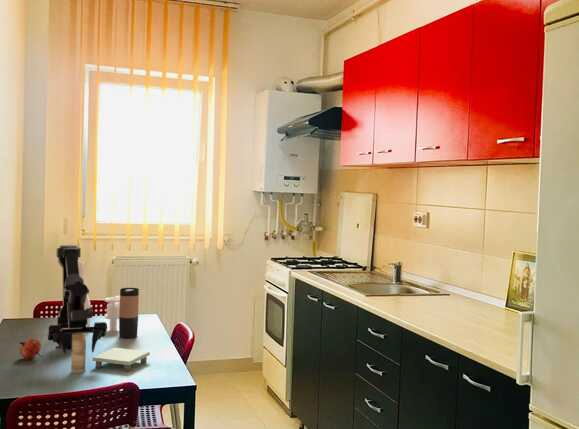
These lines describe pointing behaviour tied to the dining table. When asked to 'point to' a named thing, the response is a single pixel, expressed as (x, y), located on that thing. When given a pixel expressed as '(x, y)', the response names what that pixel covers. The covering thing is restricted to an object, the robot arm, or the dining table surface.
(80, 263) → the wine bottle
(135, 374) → the dining table surface
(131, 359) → the peg shelf
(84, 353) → the post
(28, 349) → the pomegranate
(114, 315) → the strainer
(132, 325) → the travel mug
